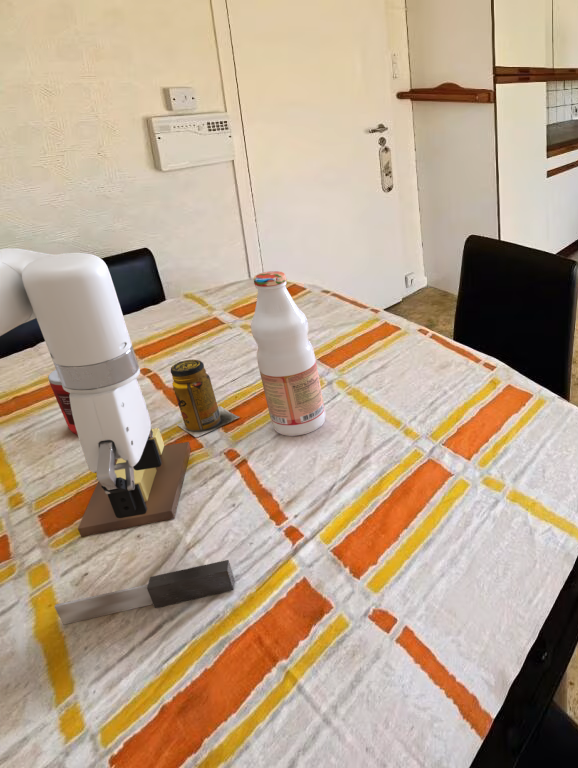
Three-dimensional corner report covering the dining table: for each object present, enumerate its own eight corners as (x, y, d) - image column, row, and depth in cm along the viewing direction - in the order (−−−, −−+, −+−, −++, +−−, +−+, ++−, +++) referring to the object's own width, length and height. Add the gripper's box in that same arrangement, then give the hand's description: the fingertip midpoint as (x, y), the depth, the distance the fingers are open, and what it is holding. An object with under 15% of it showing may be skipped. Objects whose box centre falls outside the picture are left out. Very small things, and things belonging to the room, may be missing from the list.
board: (81, 536, 87) (77, 528, 87) (112, 462, 103) (109, 454, 103) (174, 518, 91) (171, 510, 90) (191, 448, 107) (188, 441, 106)
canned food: (105, 409, 119) (86, 357, 114) (126, 421, 115) (107, 368, 110) (61, 427, 113) (39, 373, 108) (82, 440, 109) (59, 385, 104)
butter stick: (113, 507, 91) (105, 488, 89) (125, 476, 97) (118, 457, 96) (147, 501, 92) (140, 482, 90) (156, 470, 99) (150, 452, 97)
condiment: (176, 425, 113) (157, 366, 108) (220, 406, 119) (204, 349, 114) (196, 438, 109) (178, 378, 104) (240, 418, 115) (225, 360, 109)
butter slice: (131, 460, 101) (124, 442, 100) (135, 450, 104) (128, 432, 102) (161, 454, 102) (155, 437, 101) (164, 445, 105) (158, 427, 103)
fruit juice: (266, 438, 109) (229, 286, 96) (280, 411, 117) (248, 267, 104) (321, 435, 110) (292, 284, 96) (330, 408, 118) (305, 265, 105)
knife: (61, 630, 73) (50, 609, 72) (66, 617, 75) (56, 596, 73) (233, 590, 78) (227, 570, 77) (234, 579, 80) (228, 559, 78)
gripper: (82, 340, 75) (122, 456, 84) (32, 409, 61) (87, 542, 69) (150, 333, 77) (184, 447, 86) (118, 399, 63) (162, 529, 71)
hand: (140, 489), depth 77 cm, fingers open, 9 cm apart
